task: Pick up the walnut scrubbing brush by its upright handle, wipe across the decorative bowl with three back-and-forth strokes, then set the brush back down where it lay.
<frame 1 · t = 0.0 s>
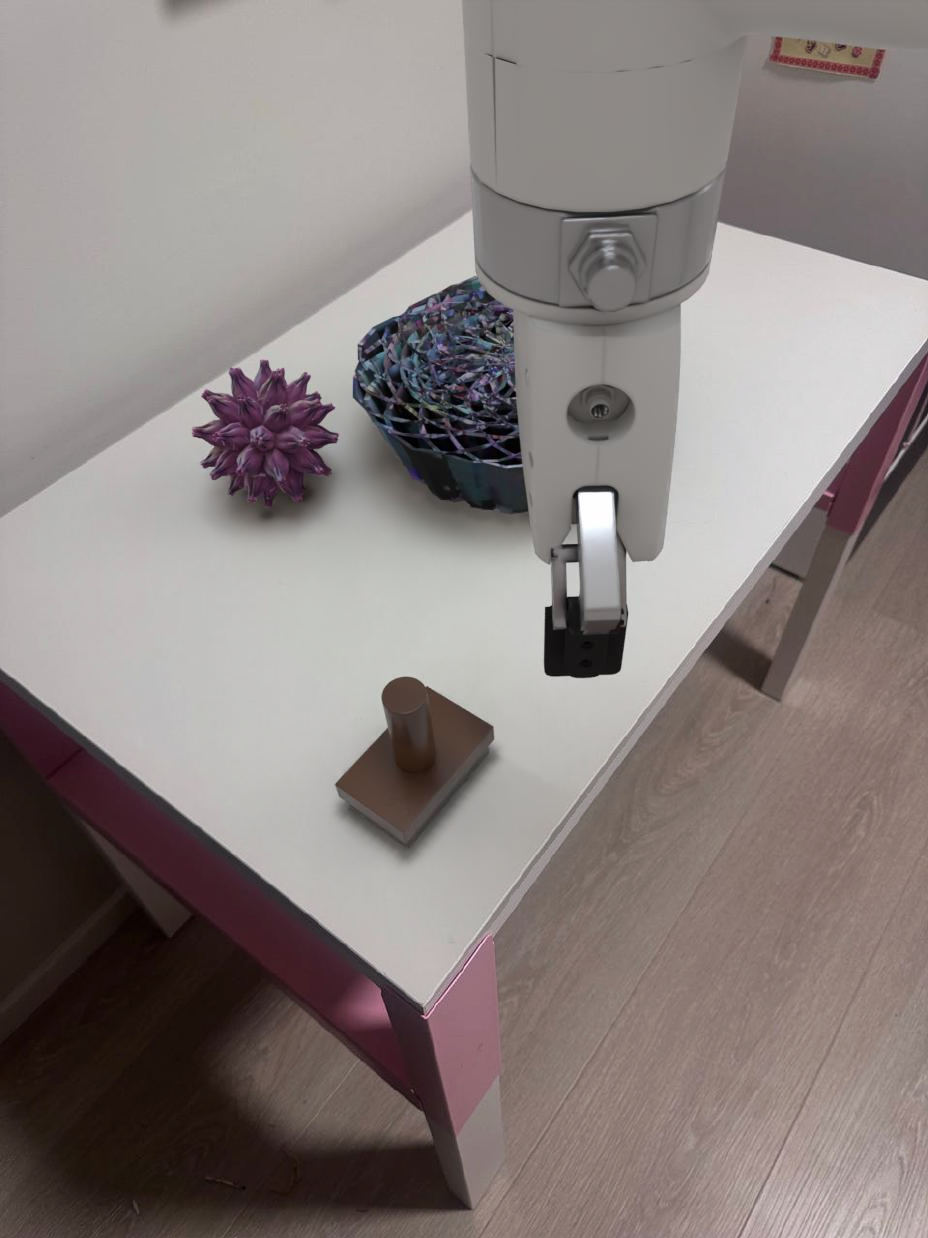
hand: (572, 585, 40), 20 cm above the table, tool pointing down, fingers open, 9 cm apart
decorative bowl: (510, 434, 79), on the table
brush: (420, 779, 57), on the table
smoothie: (624, 329, 89), on the table
flower: (282, 489, 76), on the table
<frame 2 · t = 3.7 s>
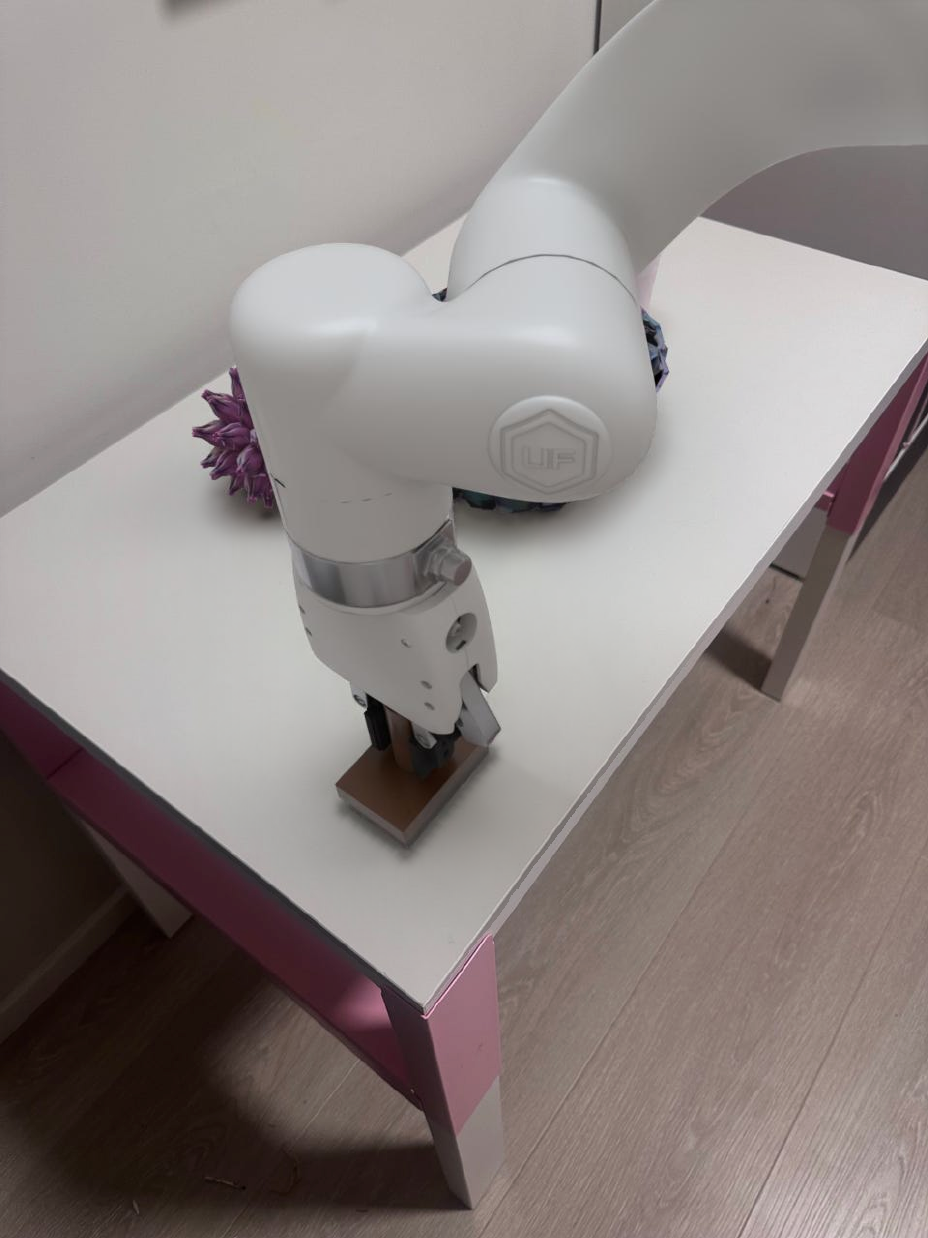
hand: (413, 745, 54), 4 cm above the table, tool pointing down, fingers closed on brush, 2 cm apart
brush: (420, 779, 57), on the table, touching gripper
everything else where it was.
when the fingers open (4 cm above the table, at t = 21.5 s): brush stays where it is, on the table.
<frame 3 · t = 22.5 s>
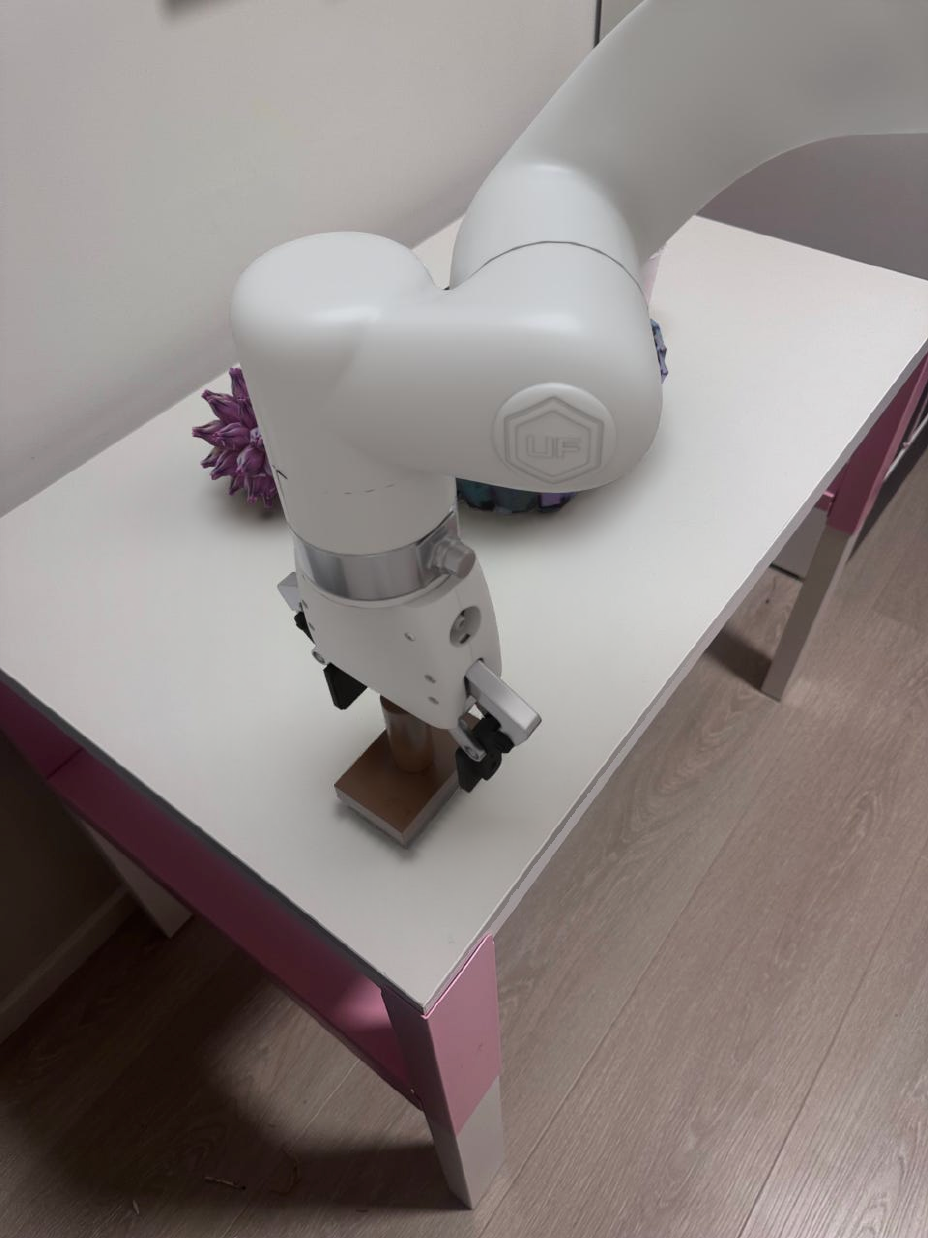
hand: (415, 731, 53), 6 cm above the table, tool pointing down, fingers open, 9 cm apart
brush: (419, 779, 57), on the table
everything else where it was.
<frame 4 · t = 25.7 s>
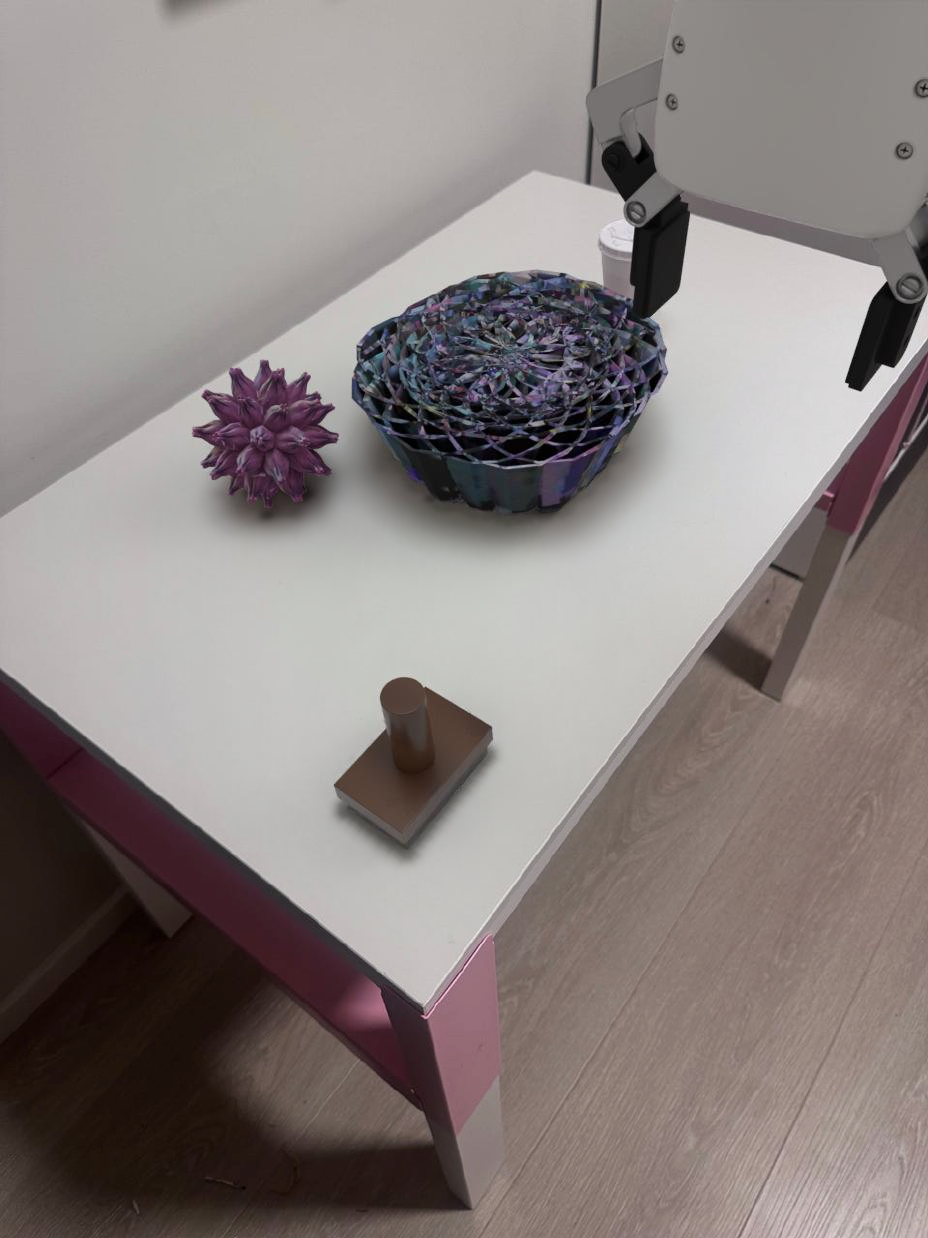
hand: (755, 336, 38), 28 cm above the table, tool pointing down, fingers open, 9 cm apart
nothing on the table moved.
at the end: brush inside the target area (0.1 cm from its centre), on the table; brush tilted 0°; decorative bowl moved 0.2 cm from its start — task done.
